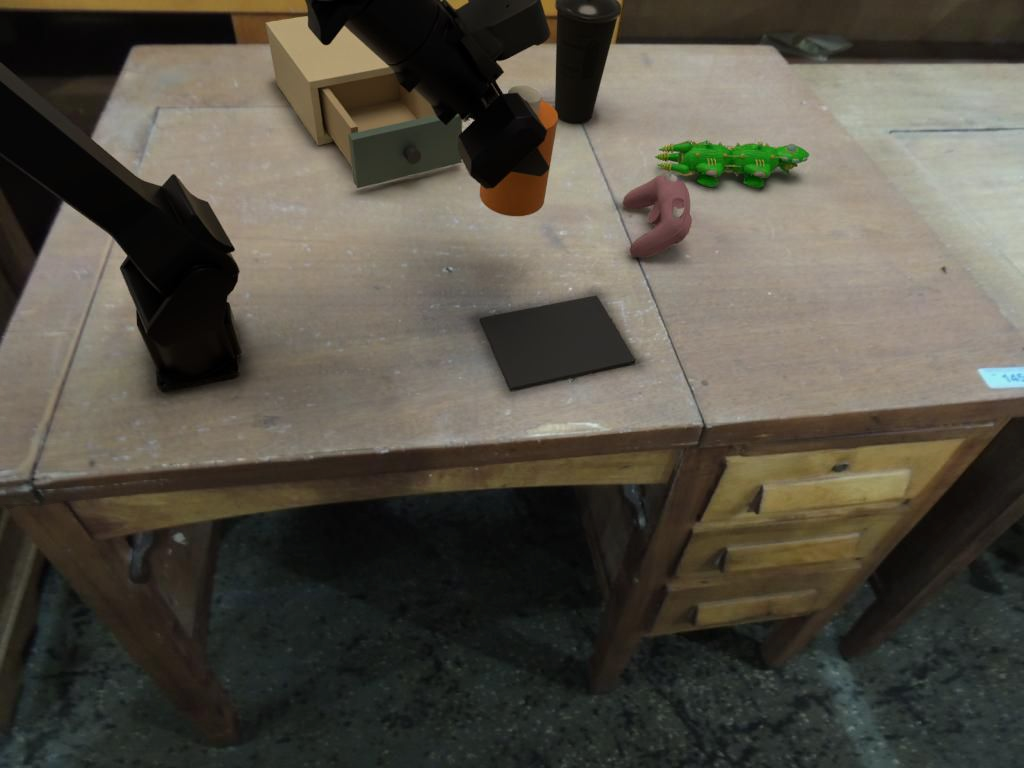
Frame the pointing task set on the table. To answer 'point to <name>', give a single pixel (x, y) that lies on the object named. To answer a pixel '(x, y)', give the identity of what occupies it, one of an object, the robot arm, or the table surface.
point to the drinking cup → (582, 54)
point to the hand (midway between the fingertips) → (532, 151)
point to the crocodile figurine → (731, 160)
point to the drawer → (387, 129)
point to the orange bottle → (520, 189)
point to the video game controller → (661, 213)
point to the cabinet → (317, 67)
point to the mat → (555, 342)
